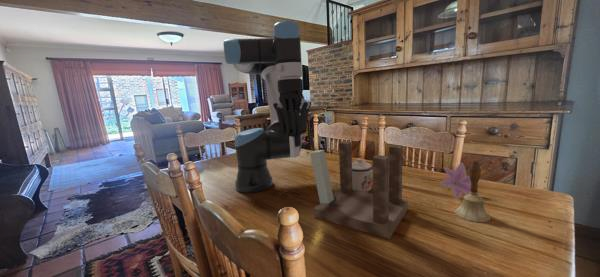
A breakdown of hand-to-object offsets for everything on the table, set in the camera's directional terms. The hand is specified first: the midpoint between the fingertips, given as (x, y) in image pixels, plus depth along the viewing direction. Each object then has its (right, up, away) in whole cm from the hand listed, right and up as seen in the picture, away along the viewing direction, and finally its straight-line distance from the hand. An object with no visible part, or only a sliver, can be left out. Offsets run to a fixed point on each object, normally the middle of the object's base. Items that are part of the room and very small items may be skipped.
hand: (295, 156), depth 79 cm
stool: (+20, -17, -3) cm, 26 cm away
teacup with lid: (+25, -13, +17) cm, 33 cm away
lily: (+54, -14, +6) cm, 56 cm away
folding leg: (+10, -13, -4) cm, 17 cm away
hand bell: (+50, -16, -7) cm, 53 cm away
